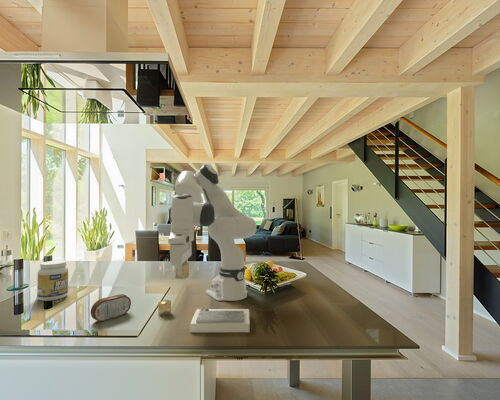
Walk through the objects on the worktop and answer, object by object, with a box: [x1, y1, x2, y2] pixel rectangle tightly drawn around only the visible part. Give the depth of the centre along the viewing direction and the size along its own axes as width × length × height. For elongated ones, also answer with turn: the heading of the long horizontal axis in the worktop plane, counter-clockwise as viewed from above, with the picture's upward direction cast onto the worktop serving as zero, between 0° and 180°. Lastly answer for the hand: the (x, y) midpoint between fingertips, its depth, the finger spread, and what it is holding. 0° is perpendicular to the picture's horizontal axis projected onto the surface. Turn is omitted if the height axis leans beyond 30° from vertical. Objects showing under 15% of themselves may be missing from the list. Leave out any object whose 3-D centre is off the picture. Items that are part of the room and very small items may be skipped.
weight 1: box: [157, 299, 172, 318], centre depth 117 cm, size 5×5×5 cm
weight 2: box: [174, 262, 190, 280], centre depth 109 cm, size 5×5×5 cm
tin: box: [90, 293, 132, 322], centre depth 113 cm, size 15×3×8 cm, turn 141°
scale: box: [189, 307, 250, 333], centre depth 107 cm, size 21×14×4 cm, turn 91°
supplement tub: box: [36, 259, 69, 302], centre depth 137 cm, size 12×12×17 cm
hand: (182, 272), depth 109 cm, fingers closed on weight 2, 5 cm apart
